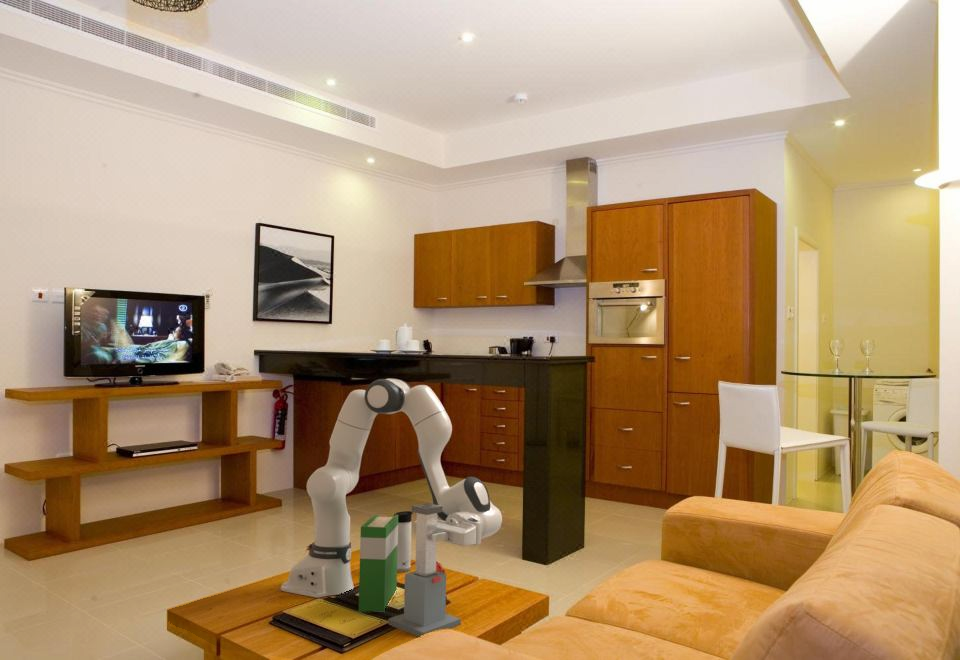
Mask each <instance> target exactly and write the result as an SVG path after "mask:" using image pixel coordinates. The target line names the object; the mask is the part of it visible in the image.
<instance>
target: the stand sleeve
mask: <svg viewBox="0 0 960 660" xmlns="http://www.w3.org/2000/svg"><path fill="white" fill-rule="evenodd" d="M403 593H404V594H403V595H404V601H403V613H402V614H398V615H396V616H395V615H394V616H393V617H390V618H388V619H387V621H388V622H387V625H389V626H391V627H393V628H396V629H399V630H401V631H404V632H407V634H408V633H409V634H411V635H414V636H416V637H418V638H420V637H419V636H421V635H424V634H426V633H429V632H432V631H435V630H439V629H446V628H450V629H452V628H454V627H457V626H461V624H462V623H461V622H462V619H461V618H460V617H457V616H454V615H452V614H449V613H446V611H447V610H446V608H447V607H446V606H447V605H446V604H447V601H446V600H447V573H445V574H444V573H441V572H438V571H436V575H433V576H430V577H426V578H424V577H421V576H418V575H415V571H412V572H411V571H409V572H406V573H405V574H404V592H403Z"/></svg>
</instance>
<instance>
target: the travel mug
mask: <svg viewBox="0 0 960 660" xmlns="http://www.w3.org/2000/svg"><path fill="white" fill-rule="evenodd" d="M413 514H414V512H412V510H411V511H409V510H405V511H399V512H396V513H394V514H393V517H394V516H395V515H398V550H397V573H408V572H410V570H411V564H412V563H411V562H412V561H411V558H412V555H411V554H412V515H413Z"/></svg>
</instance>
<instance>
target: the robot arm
mask: <svg viewBox="0 0 960 660" xmlns="http://www.w3.org/2000/svg"><path fill="white" fill-rule="evenodd" d="M440 400H441V399H439V397H438V396H437V395H436V393H435V392H434V390H432V388H431V387H430V386H428V385H426V384H418V385H415V386H413V387H412V386H411V385H410V383H408V382H406V381H405V380H403V379H400V378H399V379H398V378H390V377H389V378H380V379H376V380H374V381H372V382H371V383H370V384H368V386H367V388H366V389H354V390H352V391H351V392H350V393H349V394H348V395H347V397H346V399H345V400H344V403H343V405H342V407H341V409H340V412H339V413H338V416H337V420H336V422H335V424H334V428H333V430H332V433H331V436H330V439H329V453H328V457H327V458H328V459H327V462H326V464H325V465H324V466H321V467H318V468H317V469H316V470H315V471H313V473H312V474H311V475H310V476H309V478H308V479H307V482H306V492H307V493H308V494H307V495H308V496H309V497H310V498H311V499H310V500H311V505H312V510H313V516H314V517H313V518H314V531H313V532H314V538H313V540H314V541H313V542H312V543H311V544H309V545H308V546H306V549H305V550H306V551H308V554H307V555H306V556H305V557H303V558H302V559H301V560H300V561H298V562H297V563H295V564H294V565H293V566H292V567H291V568H290V572H289V575H288V580H285V581H284V582H283V583H282V584H281V586H280V591H282V592H287V593H291V594H295V595H303V596H306V597H311V598H318V599H319V598H324V597H327V596H336V595H337V596H338V595H342V594H345V593H344V592H346V591H349V590H351V589H352V590H353V589H354V587H355V586H354V582H353V578H352V572H351V571H352V570H351V560H352V542H351V541H350V540H351V516H350V514H349V511H348V508H347V501H346V500H347V499H346V495H347V494H349V493H351V492H352V491H353V490H354V489H355V487H356V486H357V484H358V482H359V479H360V468H361V463H362V457H363V453H364V450H365V446H366V444H367V441H368V438H369V435H370V432H371V429H372V427H373V424H374V421H375V418H376V417H377V415H379V414H380V415H391V414H392V415H393V414H396V413H401V412H403V413H404V414H406V415H407V417H408V419H409V420H410V423H411V425H412V427H413V429H414V432H415V434H416V436H417V437H416V438H417V442H418V448H417V454H418V459H419V462H420V466H421V468H422V471H423V475H424V476H425V479H426V482H427V485H428V489H429V492H430V494H431V497H432V504H435V505H439V506H443V508H442V512H440V513H437V533H432V534H430V535H429V537H430V538H429V540H430V541H437V542H438V541H439V542H440V541H441V542H445V543H450V544H451V545H457V546H460V547H467V546H479V545H481V544H482V539H485V538H488V537H490V536H493V535H495V534H496V533H497V532H498V531H499V530H500V528H501V526H502V523H503V516H502V515H503V514H502V513H501V511H500V509H499V508H498V507H497V506H496V505H494V504H493V503H492V501H491V500H490V494H489V491H488V488H487V487H486V485H485V483H483V481H482V480H480V479H479V478H477V477H475V476H467V477H466V478H465V479H462V480H461V481H458V482H457V483H456V484H454V485H452V486H449V484H448V481H447V478H446V474H445V472H444V469H443V467H442V463H441V456H442V453H443V451H444V449H445V447H446V445H447V444H448V442H449V441H450V438H451V437H452V433H453V432H452V431H453V425H452V422H451V419H450V416H449V415H448V413H447V411H446V409H445V407H444V406H443V404H442V401H440ZM438 518H439V519H438ZM416 522H417V519H416V520H415V521H414V522H413V533H414V534H415V535H416ZM352 590H351V591H352ZM349 592H350V591H349ZM341 593H342V594H341ZM346 593H347V592H346Z"/></svg>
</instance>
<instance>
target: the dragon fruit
mask: <svg viewBox="0 0 960 660" xmlns="http://www.w3.org/2000/svg"><path fill="white" fill-rule="evenodd" d="M436 571H438V572H441V573H444V574H446V570H445V569H444V567H443V565H442V564H441V562H438V561H437V560H436Z"/></svg>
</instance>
